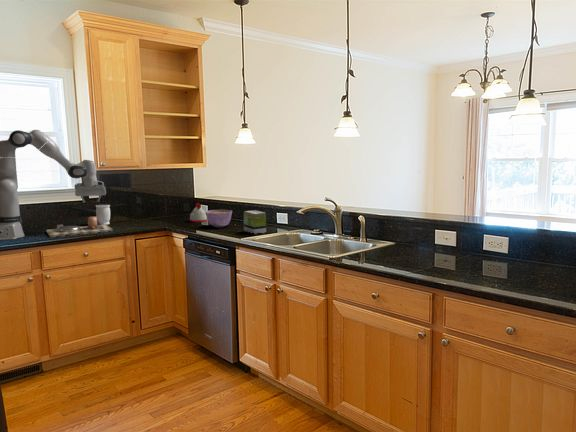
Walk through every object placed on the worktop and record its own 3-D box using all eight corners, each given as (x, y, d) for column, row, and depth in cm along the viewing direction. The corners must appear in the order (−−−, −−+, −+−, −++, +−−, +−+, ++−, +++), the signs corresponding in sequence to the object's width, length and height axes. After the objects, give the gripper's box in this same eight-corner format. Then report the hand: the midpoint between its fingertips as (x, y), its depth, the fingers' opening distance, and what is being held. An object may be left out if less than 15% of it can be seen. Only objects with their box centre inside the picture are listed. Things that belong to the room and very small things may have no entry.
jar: (93, 224, 343) (92, 205, 341) (104, 222, 352) (103, 204, 350) (103, 225, 338) (102, 206, 336) (114, 223, 348) (112, 204, 345)
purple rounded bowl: (227, 223, 347) (226, 209, 345) (236, 227, 330) (236, 212, 328) (202, 225, 338) (202, 210, 336) (210, 229, 320) (210, 214, 319)
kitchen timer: (193, 223, 351) (192, 204, 348) (187, 220, 362) (186, 202, 360) (209, 221, 358) (209, 203, 356) (203, 219, 370) (202, 201, 367)
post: (58, 233, 300) (57, 226, 299) (55, 229, 312) (55, 223, 311) (82, 230, 308) (81, 224, 307) (78, 227, 320) (78, 221, 320)
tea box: (243, 231, 313) (243, 211, 311) (255, 230, 319) (255, 209, 317) (254, 234, 301) (254, 213, 299) (266, 233, 307) (266, 212, 305)
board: (50, 237, 292) (49, 234, 292) (46, 231, 312) (46, 229, 312) (113, 231, 314) (112, 228, 314) (106, 226, 334) (105, 224, 334)
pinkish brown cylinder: (98, 228, 314) (97, 217, 313) (89, 229, 311) (88, 218, 310) (96, 227, 322) (96, 216, 321) (87, 227, 319) (87, 217, 318)
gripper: (74, 183, 305) (76, 203, 307) (106, 182, 316) (107, 201, 318) (73, 183, 310) (74, 202, 312) (104, 182, 321) (105, 200, 323)
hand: (91, 202), depth 315 cm, fingers open, 8 cm apart
